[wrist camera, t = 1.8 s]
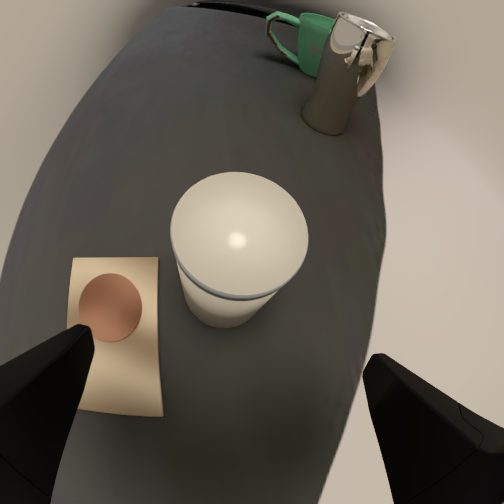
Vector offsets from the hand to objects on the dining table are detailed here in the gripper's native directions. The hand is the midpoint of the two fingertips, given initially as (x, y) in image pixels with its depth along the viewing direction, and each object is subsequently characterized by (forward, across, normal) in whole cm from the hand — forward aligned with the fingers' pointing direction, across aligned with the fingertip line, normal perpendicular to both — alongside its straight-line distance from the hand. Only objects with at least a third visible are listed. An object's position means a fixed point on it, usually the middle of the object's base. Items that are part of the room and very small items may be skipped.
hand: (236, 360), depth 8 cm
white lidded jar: (+12, 0, +5) cm, 13 cm away
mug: (+40, -8, -22) cm, 46 cm away
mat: (+9, +8, +8) cm, 15 cm away
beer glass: (+29, -10, -12) cm, 33 cm away
